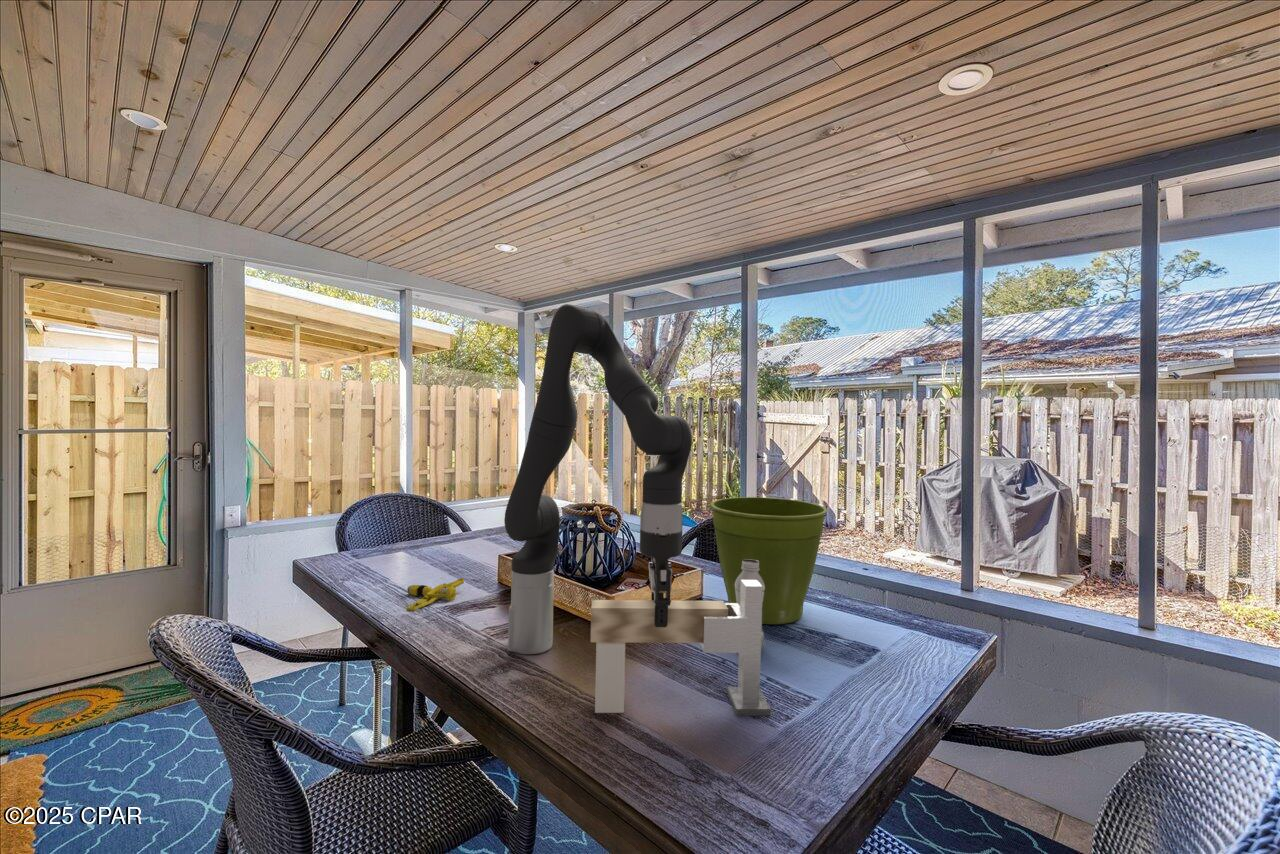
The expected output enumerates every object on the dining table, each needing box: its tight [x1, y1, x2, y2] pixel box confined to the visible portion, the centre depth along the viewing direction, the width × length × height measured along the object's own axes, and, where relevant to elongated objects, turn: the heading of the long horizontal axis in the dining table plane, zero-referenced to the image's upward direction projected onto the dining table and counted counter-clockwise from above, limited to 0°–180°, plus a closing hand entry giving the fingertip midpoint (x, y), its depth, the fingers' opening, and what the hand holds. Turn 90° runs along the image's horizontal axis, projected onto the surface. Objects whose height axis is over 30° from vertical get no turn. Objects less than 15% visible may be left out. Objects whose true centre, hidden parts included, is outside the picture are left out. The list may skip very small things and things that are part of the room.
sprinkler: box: [406, 577, 465, 612], centre depth 156 cm, size 19×4×15 cm
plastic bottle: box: [735, 559, 765, 651], centre depth 126 cm, size 6×7×20 cm
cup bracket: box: [699, 580, 772, 717], centre depth 102 cm, size 12×8×22 cm, turn 93°
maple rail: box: [590, 599, 728, 644], centre depth 102 cm, size 24×4×6 cm, turn 93°
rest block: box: [594, 642, 626, 714], centre depth 101 cm, size 5×6×12 cm
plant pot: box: [710, 496, 828, 625], centre depth 150 cm, size 30×30×29 cm
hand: (658, 617), depth 102 cm, fingers open, 8 cm apart
